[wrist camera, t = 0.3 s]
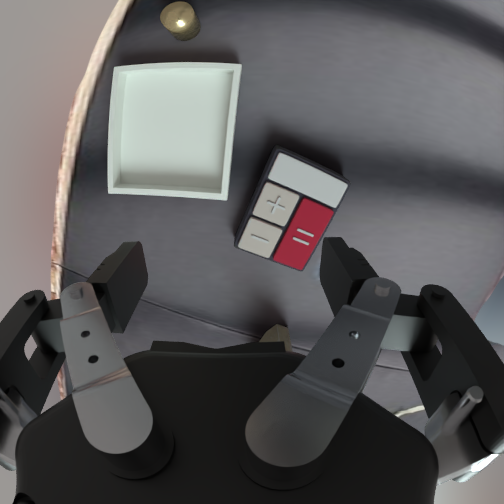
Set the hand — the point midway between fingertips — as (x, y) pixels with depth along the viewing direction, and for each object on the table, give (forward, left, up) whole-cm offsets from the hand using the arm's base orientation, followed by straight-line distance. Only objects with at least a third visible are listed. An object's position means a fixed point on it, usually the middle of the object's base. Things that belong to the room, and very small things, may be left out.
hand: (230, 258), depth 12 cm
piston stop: (-20, -10, -28) cm, 35 cm away
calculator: (+5, +7, -28) cm, 30 cm away
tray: (-5, -10, -28) cm, 30 cm away
